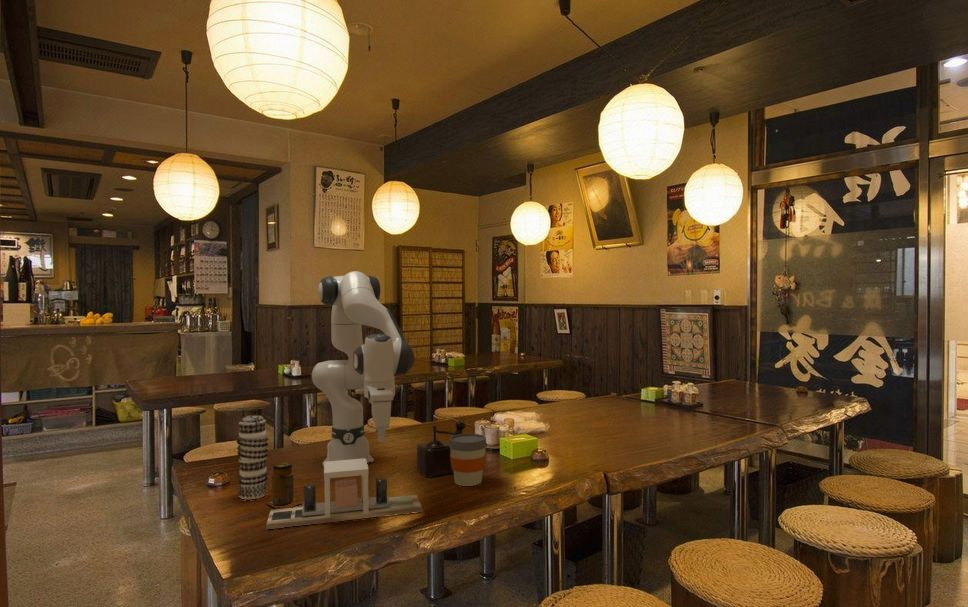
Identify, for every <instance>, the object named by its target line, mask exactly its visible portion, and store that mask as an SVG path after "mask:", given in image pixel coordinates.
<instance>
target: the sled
mask: <svg viewBox="0 0 968 607" xmlns="http://www.w3.org/2000/svg"><path fill="white" fill-rule="evenodd" d="M334 483H335V484H334V486H335V487H334V488H335V489H334V490H335V491H334V492H335V500H333V501H332V500H330V513H337V512H346V511H356V510H363V498H358V482H357V478H351V479H350V478H349V479H339V480H335V482H334ZM316 486H317V485H315V484H307V485H304V486H303V504H302V506H303V509H302V516H310V515H319V514H325V501H323V502H317V500H316V499H317V496H316V494H317V490H316ZM383 507H390V503H389V499H388V478H386V477H378V478H376V479H375V496H370V497H369V496H368V508H369V509H374V508H383Z"/></svg>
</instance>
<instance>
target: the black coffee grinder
mask: <svg viewBox="0 0 968 607" xmlns="http://www.w3.org/2000/svg"><path fill="white" fill-rule="evenodd" d="M454 426H455V431H454V432H452V431H445V430H437V426H436V425H433V426H432V433H433V435H432V436H433V439H432V440H429V441H427V442H426V443H419V444H416V470H417V469H418V470H419V471H420V472H421V473H423V474H424V475H425V476H427V477H430V476H436V477H440V476H439V475H442V476H444V475H443V474H447V475H450V474H449V473H451V474H454V473H453V469H452V466H451V459H450V454H451V450H450V447H449V444H448V443H447V442H444V441H443V440H440V439H439V440H438V439H437V433H438V434H444V435H445V434H447V435H451V436H454V435H458V434H463V431H464V430H465V429H466V427H467V426H466V422H464V421H463V420H458V421H455V423H454ZM418 470H417V471H418ZM419 471H418V472H419ZM420 472H419V473H420ZM421 473H420V474H421ZM425 476H424V477H425ZM430 478H431V477H430Z"/></svg>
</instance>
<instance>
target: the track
mask: <svg viewBox="0 0 968 607" xmlns="http://www.w3.org/2000/svg"><path fill="white" fill-rule="evenodd" d="M388 499H389V503H390V507H383V508H374V509H369V513H364V514H363V510H356V511H346V512H337V513H330V517H328V518H325V514H319V515H310V516H302V509H303V505H301V506H295V507H293V508H283V509H274V508H273V509H270V512H269V514H268V519H267V521H266V528H265V530H266V531H268V530H267V529H274V530H276V529H275V528H283V529H285V528H284V527H291V528H293V527H292V526H300V527H302V526H301V525H309V526H311V525H310V524H316V523H325V522H335V521H344V520H351V519H361V518H369V517H376V516H385V515H395V514H404V513H412V512H422V513H423V507H422V504H421V502H420V500H419V498H418V495H417V494H410V495H398V496H389V497H388ZM344 522H345V521H344ZM335 523H336V522H335Z"/></svg>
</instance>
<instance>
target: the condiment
mask: <svg viewBox="0 0 968 607" xmlns="http://www.w3.org/2000/svg"><path fill="white" fill-rule="evenodd" d="M272 473H273V474H272V476H271V491H272V493H271V499H272V500H271V503H273V505H274V506H285V505H288V504H291V503H292V502H293V500H294V493H295V492H294V490H295V489H294V472H293V465H292V463H291V462H278V463H276V464H274V465H273V472H272Z"/></svg>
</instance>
